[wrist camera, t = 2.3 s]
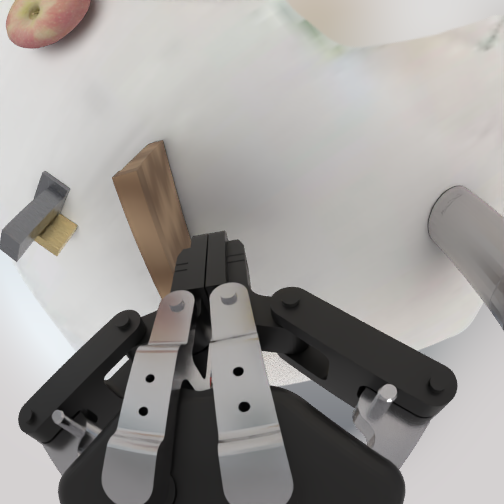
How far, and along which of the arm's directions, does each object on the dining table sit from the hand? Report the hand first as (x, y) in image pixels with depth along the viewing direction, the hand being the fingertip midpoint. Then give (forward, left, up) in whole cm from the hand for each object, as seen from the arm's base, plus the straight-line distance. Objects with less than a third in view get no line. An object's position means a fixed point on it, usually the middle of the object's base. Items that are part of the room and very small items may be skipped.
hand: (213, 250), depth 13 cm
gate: (-2, +9, -15) cm, 18 cm away
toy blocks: (+13, +14, -16) cm, 25 cm away
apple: (+23, -4, -16) cm, 28 cm away
